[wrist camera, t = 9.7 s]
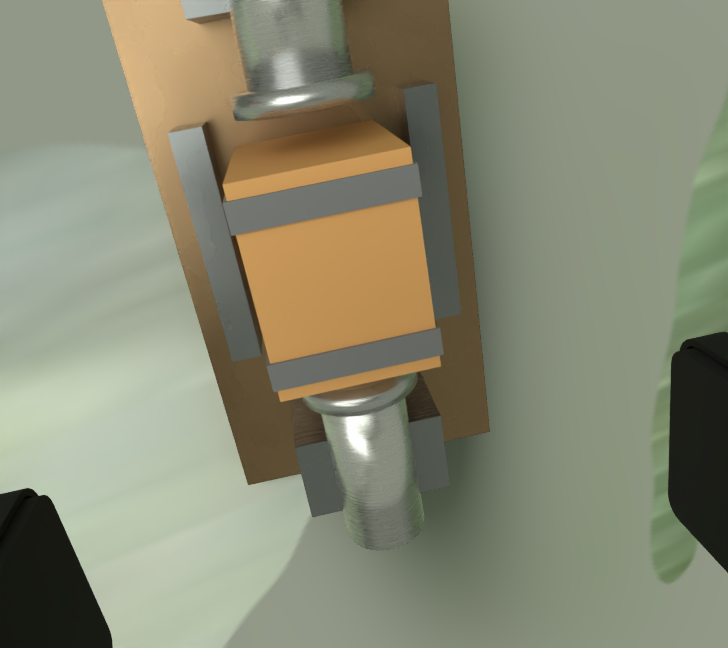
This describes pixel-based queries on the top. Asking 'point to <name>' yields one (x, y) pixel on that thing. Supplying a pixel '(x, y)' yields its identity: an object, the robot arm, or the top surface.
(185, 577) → the top surface
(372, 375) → the block
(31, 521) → the robot arm
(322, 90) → the shaft bench
